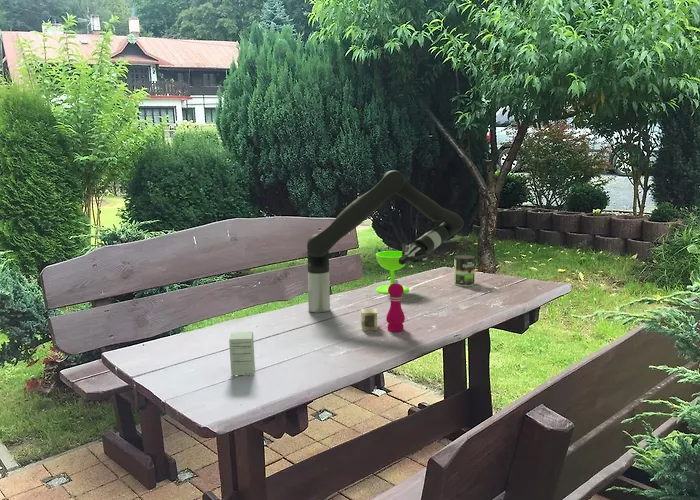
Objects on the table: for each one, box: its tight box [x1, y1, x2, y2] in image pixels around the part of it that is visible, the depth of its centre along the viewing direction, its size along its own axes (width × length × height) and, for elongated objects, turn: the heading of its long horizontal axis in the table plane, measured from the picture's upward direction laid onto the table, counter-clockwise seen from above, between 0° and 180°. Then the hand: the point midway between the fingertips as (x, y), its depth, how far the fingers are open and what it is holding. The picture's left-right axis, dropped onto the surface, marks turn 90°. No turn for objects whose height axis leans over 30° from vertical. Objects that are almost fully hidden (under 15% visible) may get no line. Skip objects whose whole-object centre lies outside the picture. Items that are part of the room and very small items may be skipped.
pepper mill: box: [385, 279, 406, 333], centre depth 239 cm, size 7×7×20 cm
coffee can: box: [453, 254, 476, 287], centre depth 308 cm, size 10×10×14 cm
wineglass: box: [375, 250, 410, 295], centre depth 297 cm, size 16×16×18 cm
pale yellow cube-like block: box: [360, 308, 378, 331], centre depth 243 cm, size 6×6×7 cm
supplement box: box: [228, 330, 256, 376], centre depth 200 cm, size 7×7×13 cm
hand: (400, 262), depth 244 cm, fingers closed
